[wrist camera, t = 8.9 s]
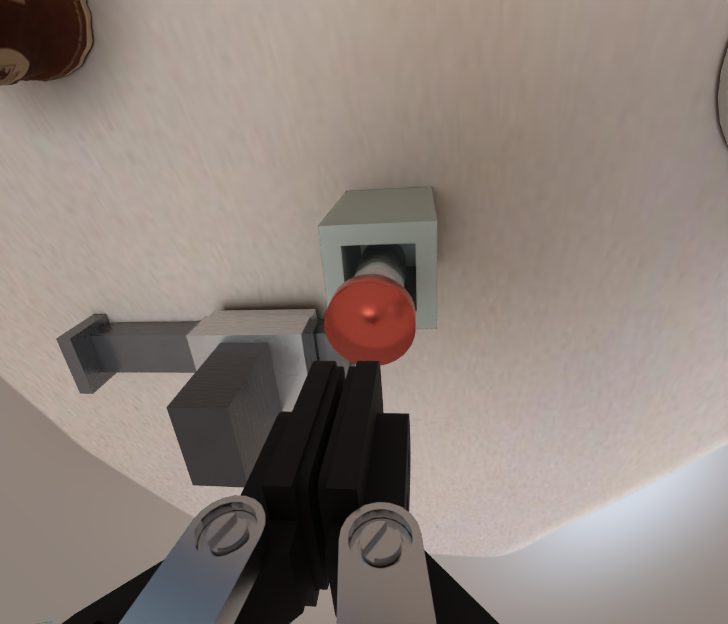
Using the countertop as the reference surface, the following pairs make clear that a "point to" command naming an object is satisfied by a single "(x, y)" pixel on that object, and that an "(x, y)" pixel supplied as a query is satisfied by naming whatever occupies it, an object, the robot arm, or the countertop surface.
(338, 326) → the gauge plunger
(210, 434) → the carriage
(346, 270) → the grey square housing
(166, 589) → the robot arm
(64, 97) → the countertop surface
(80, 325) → the rail
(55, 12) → the coffee cup
